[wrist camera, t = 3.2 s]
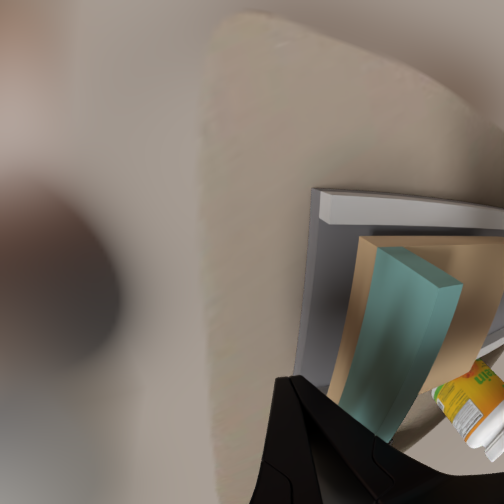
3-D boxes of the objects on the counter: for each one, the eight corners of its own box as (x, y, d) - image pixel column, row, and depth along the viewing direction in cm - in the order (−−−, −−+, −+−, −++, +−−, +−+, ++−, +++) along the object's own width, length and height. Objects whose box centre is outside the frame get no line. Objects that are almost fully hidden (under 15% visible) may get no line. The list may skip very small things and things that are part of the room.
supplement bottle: (480, 345, 17) (543, 406, 8) (454, 389, 19) (504, 451, 10) (449, 354, 16) (519, 432, 7) (419, 402, 18) (472, 478, 9)
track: (502, 327, 17) (516, 338, 15) (290, 390, 14) (300, 419, 12) (534, 214, 13) (551, 221, 11) (311, 187, 11) (334, 196, 9)
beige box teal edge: (449, 351, 14) (494, 398, 9) (317, 387, 13) (352, 469, 8) (486, 230, 11) (555, 262, 6) (344, 227, 10) (438, 287, 5)
